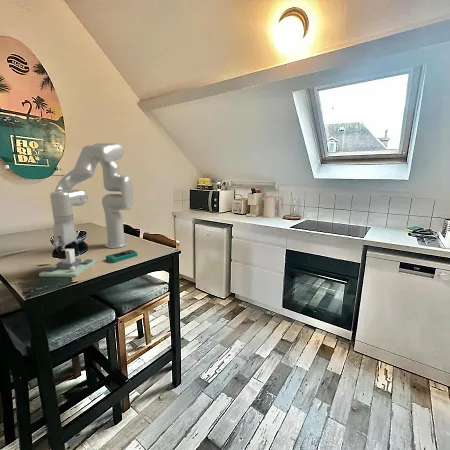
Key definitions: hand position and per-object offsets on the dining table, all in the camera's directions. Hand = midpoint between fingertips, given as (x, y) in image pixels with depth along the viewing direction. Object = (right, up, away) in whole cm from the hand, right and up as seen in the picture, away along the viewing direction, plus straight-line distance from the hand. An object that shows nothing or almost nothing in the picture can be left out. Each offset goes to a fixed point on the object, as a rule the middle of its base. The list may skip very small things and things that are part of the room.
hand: (69, 254), depth 119 cm
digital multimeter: (+18, -4, +16) cm, 25 cm away
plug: (0, -5, +1) cm, 5 cm away
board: (0, -7, +1) cm, 7 cm away
